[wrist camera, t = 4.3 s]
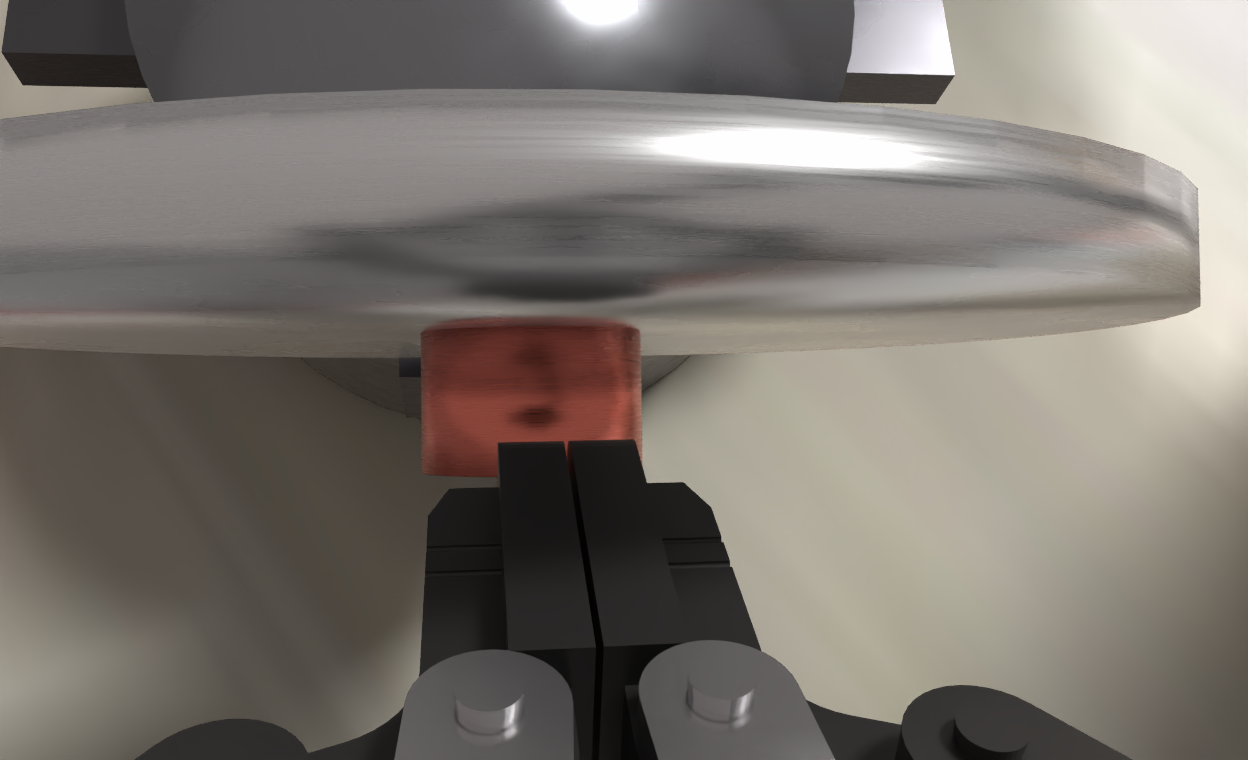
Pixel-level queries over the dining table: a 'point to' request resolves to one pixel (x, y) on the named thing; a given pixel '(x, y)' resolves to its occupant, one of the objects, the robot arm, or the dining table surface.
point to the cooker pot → (484, 65)
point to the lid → (568, 239)
